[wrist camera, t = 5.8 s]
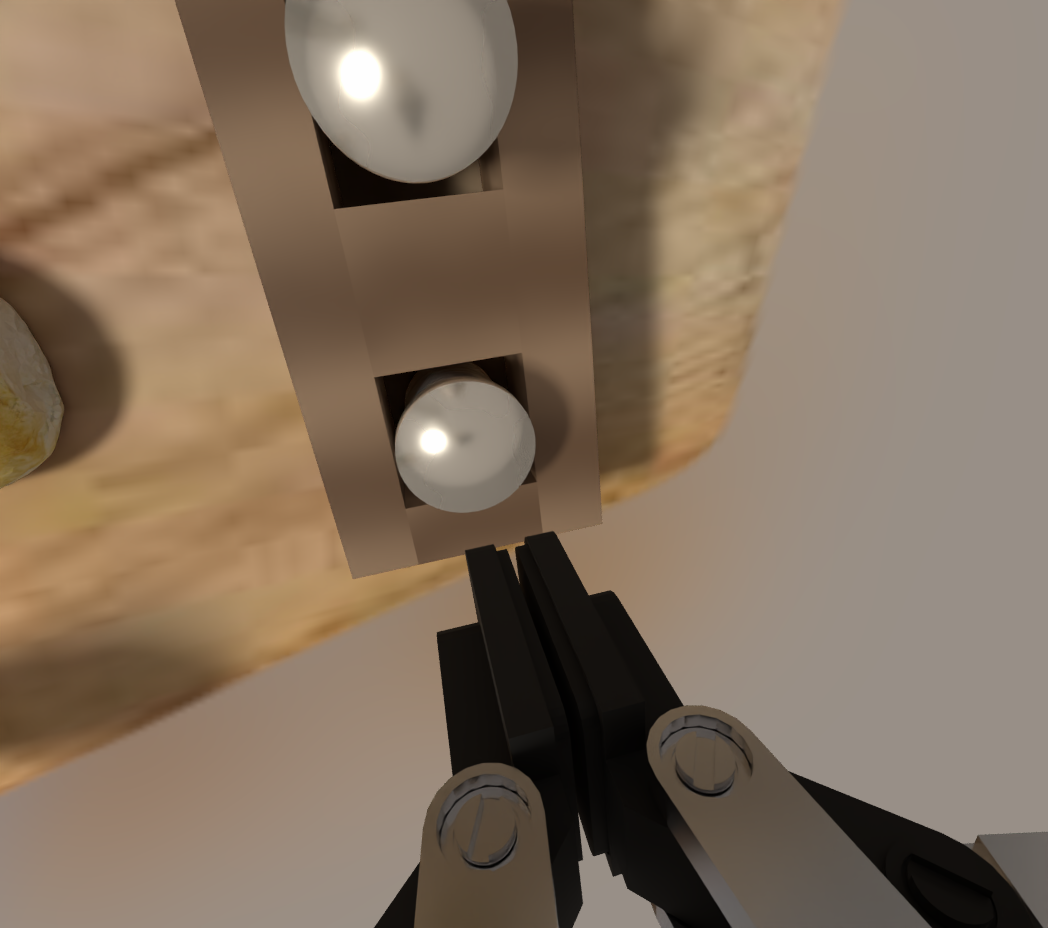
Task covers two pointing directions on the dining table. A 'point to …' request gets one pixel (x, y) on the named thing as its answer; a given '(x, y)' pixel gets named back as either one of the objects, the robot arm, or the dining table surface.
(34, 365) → the bread roll
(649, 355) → the dining table surface
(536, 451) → the mount board
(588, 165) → the dining table surface
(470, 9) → the knob
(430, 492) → the knob
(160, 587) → the dining table surface
